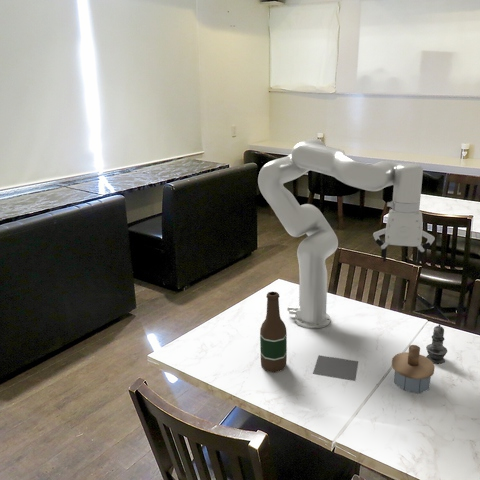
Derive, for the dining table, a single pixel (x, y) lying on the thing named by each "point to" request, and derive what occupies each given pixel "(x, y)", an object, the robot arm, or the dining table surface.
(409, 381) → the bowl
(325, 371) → the mat
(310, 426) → the dining table surface
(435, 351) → the ornate incense burner
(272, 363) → the beer bottle
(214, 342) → the dining table surface
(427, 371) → the lid
